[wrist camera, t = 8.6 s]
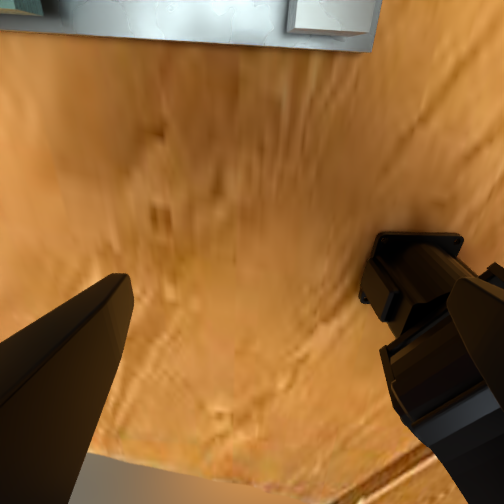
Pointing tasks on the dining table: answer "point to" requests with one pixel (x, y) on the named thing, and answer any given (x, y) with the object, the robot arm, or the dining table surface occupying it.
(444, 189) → the dining table surface
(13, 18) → the gauge plate
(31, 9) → the teal lever with handle
